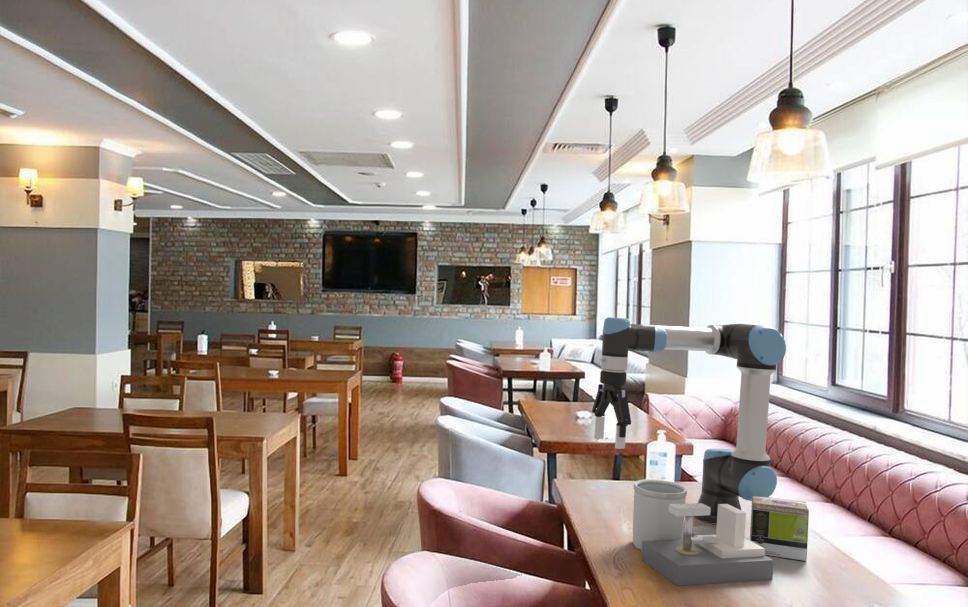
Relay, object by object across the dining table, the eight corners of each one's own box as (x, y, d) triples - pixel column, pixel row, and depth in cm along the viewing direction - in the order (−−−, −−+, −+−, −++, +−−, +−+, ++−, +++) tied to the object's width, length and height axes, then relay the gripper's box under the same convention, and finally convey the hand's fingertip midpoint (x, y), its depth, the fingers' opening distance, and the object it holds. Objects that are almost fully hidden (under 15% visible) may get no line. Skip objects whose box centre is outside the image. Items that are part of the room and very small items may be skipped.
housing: (729, 554, 207) (730, 536, 207) (772, 579, 190) (773, 559, 190) (641, 559, 199) (642, 540, 199) (677, 585, 182) (679, 564, 182)
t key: (710, 545, 197) (713, 502, 197) (719, 550, 193) (722, 507, 193) (666, 547, 193) (668, 504, 193) (674, 553, 189) (677, 508, 189)
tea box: (803, 551, 215) (807, 501, 214) (806, 562, 205) (810, 509, 205) (748, 542, 219) (752, 493, 219) (749, 553, 210) (752, 501, 210)
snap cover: (735, 540, 204) (738, 501, 204) (764, 556, 193) (767, 514, 193) (695, 542, 201) (697, 502, 200) (721, 558, 189) (724, 515, 189)
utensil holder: (674, 559, 200) (678, 495, 200) (622, 547, 208) (626, 485, 208) (689, 546, 213) (693, 485, 213) (640, 534, 221) (644, 476, 221)
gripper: (583, 365, 225) (579, 434, 225) (622, 375, 201) (617, 452, 201) (606, 366, 227) (601, 434, 227) (646, 376, 203) (641, 452, 203)
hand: (609, 443), depth 214 cm, fingers open, 13 cm apart
